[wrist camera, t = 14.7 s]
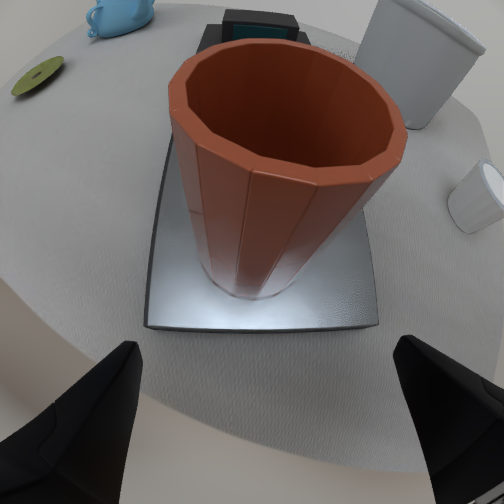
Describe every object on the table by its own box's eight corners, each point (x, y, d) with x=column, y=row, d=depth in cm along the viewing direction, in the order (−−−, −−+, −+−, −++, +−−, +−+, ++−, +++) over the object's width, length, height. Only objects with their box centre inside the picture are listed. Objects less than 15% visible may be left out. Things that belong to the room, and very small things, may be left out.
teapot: (81, 50, 32) (70, 9, 22) (101, 24, 37) (94, -9, 27) (153, 31, 34) (149, -14, 25) (161, 10, 39) (159, -25, 29)
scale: (363, 328, 20) (412, 316, 14) (152, 329, 18) (120, 318, 12) (302, 43, 35) (310, 13, 29) (207, 35, 34) (207, 4, 28)
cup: (326, 258, 18) (438, 136, 7) (240, 320, 16) (277, 245, 5) (264, 182, 20) (300, 30, 8) (179, 230, 18) (134, 71, 6)
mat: (30, 74, 30) (27, 68, 28) (75, 57, 31) (72, 49, 29) (5, 110, 26) (1, 103, 24) (51, 90, 27) (48, 81, 25)
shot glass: (443, 221, 24) (483, 190, 18) (443, 179, 27) (475, 147, 20) (479, 248, 24) (518, 224, 17) (477, 205, 26) (509, 179, 20)
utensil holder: (431, 105, 33) (476, 34, 17) (429, 151, 28) (499, 60, 12) (356, 61, 35) (388, -19, 18) (333, 94, 30) (376, -19, 13)
